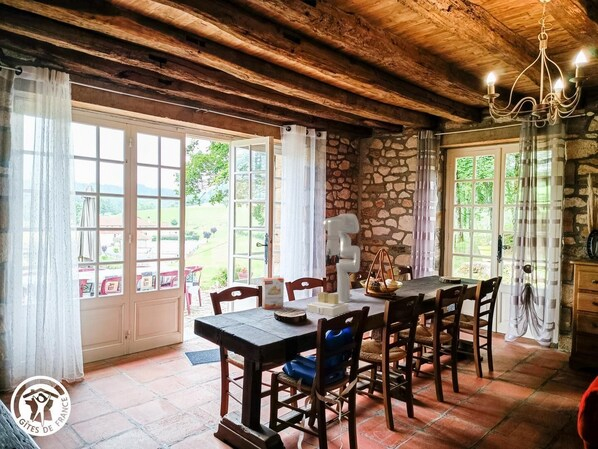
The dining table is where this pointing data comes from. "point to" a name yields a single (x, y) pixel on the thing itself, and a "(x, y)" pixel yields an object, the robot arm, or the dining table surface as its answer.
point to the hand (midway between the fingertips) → (333, 263)
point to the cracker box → (272, 293)
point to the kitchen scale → (328, 308)
